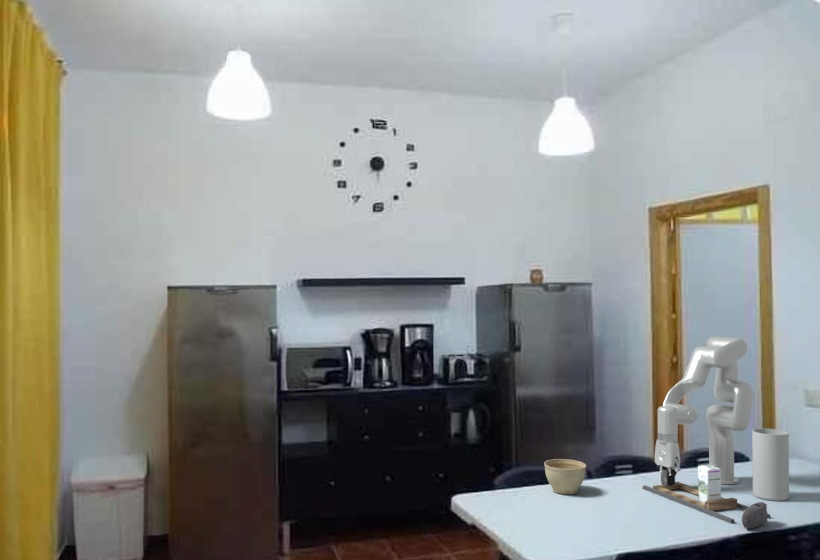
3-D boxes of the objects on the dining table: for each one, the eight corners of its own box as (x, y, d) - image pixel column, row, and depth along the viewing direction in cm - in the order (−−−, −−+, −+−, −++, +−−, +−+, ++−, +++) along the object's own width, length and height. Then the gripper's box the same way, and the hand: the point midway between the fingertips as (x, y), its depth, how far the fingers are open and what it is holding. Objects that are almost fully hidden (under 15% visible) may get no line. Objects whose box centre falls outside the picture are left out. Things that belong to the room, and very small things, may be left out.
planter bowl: (540, 494, 277) (540, 466, 277) (548, 484, 292) (548, 457, 292) (582, 499, 271) (582, 470, 271) (588, 488, 286) (588, 461, 286)
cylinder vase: (793, 496, 274) (792, 431, 275) (783, 503, 265) (783, 436, 265) (758, 490, 283) (758, 427, 283) (748, 497, 273) (747, 431, 274)
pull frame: (652, 489, 283) (652, 470, 283) (678, 486, 288) (678, 467, 288) (708, 511, 255) (708, 490, 255) (737, 507, 259) (737, 486, 259)
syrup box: (721, 508, 259) (721, 468, 259) (707, 509, 258) (707, 469, 258) (711, 503, 265) (711, 464, 265) (697, 505, 263) (697, 465, 263)
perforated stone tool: (750, 533, 233) (750, 511, 233) (735, 529, 237) (734, 508, 237) (772, 523, 242) (772, 503, 242) (756, 520, 246) (756, 499, 246)
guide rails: (642, 488, 285) (642, 485, 285) (678, 484, 291) (678, 481, 291) (730, 523, 242) (730, 519, 242) (770, 517, 248) (770, 514, 248)
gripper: (646, 434, 291) (646, 479, 290) (674, 442, 276) (674, 490, 275) (661, 433, 294) (661, 478, 293) (689, 440, 278) (690, 488, 278)
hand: (668, 483), depth 284 cm, fingers closed on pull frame, 3 cm apart
